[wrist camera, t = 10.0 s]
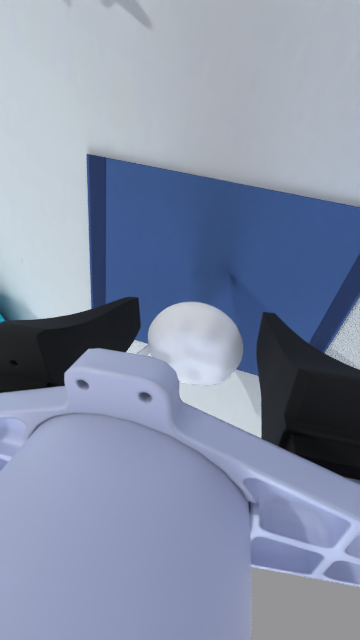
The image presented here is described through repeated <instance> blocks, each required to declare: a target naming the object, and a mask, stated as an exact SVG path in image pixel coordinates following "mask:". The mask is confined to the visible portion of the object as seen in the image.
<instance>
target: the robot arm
mask: <svg viewBox="0 0 360 640" xmlns="http://www.w3.org/2000/svg"><path fill="white" fill-rule="evenodd" d="M140 328H141V321H140V309H139V298H138V297H125V298H122V299H119V300H116V301H113V302H110V303H108V304H105V305H102V306H99V307H96V308H93V309H90V310H87V311H84V312H80V313H76V314H71V315H66V316H60V317H55V318H47V319H37V320H15V321H3V322H1V323H0V640H252V637H251V636H252V634H251V567H256V568H262V569H267V570H272V571H277V572H283V573H288V574H294V575H299V576H304V577H310V578H315V579H320V580H326V581H331V582H336V583H342V584H347V585H352V586H357V587H360V370H358V369H356V368H353V367H351V366H349V365H346V364H344V363H342V362H340V361H338V360H336V359H334V358H332V357H330V356H328V355H326V354H325V353H323V352H321V351H319V350H318V349H316V348H315V347H313V346H312V345H310V344H309V343H307V342H306V341H305V340H303V339H302V338H301V337H300V336H298V335H297V334H296V333H295V332H294V331H293V330H292V329H291V328H289V327H288V326H287V325H286V324H285V323H284V322H283V321H282V320H281V319H280V318H279V317H278V316H277V315H276V314H275V313H269V312H263V314H262V319H261V324H260V329H259V334H258V338H257V345H256V359H257V367H258V374H259V381H260V388H261V407H262V439H261V438H259V437H257V436H255V435H252V434H250V433H248V432H246V431H244V430H242V429H240V428H237V427H235V426H233V425H231V424H229V423H227V422H225V421H222V420H220V419H218V418H216V417H214V416H212V415H210V414H207V413H205V412H203V411H201V410H199V409H197V408H195V407H192V406H190V405H188V404H186V403H184V402H183V401H182V400H181V399H180V395H179V380H178V377H177V373H176V371H175V370H174V369H173V368H172V367H171V366H170V365H169V364H168V363H167V362H165V361H162V360H159V359H157V358H154V357H149V356H143V355H137V354H131V353H126V351H127V350H128V348H129V347H130V346H131V344H132V343H133V341H134V340H135V338H136V336H137V334H138V332H139V330H140Z"/></svg>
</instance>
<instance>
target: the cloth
mask: <svg viewBox="0 0 360 640" xmlns="http://www.w3.org/2000/svg"><path fill="white" fill-rule="evenodd" d="M87 183H88V214H89V245H90V275H91V306H92V309H93V308H96V307H99V306H102V305H105V304H108V303H110V302H113V301H116V300H119V299H122V298H125V297H138V298H139V309H140V321H141V328H140V330H139V332H138V334H137V336H136V338H135V340H138V341H141V342H144V343H148V331H149V327H150V325H151V323H152V322H153V320H154V319H155V318H156V317H157V315H158V314H159V313H160V312H161V311H162V310H163V309H164V308H165V307H166V306H167V305H168V304H169V303H170V302H171V301H172V300H173V299H174V298H175V297H176V296H177V295H178V294H179V293H180V292H181V291H182V290H183V289H184V287H185V286H186V285H187V284H188V283H189V282H190V281H191V279H192V278H193V277H194V276H195V275H196V274H197V273H199V272H200V271H201V270H202V269H203V268H204V267H214V266H219V267H220V268H222V269H224V270H226V271H227V272H229V273H230V274H231V276H232V279H233V281H234V283H235V286H236V295H237V305H238V316H239V323H240V329H241V335H242V342H243V355H242V360H241V362H240V364H239V366H238V367H237V368H236V369H237V370H241V371H244V372H248V373H251V374H254V375H258V376H259V374H258V367H257V359H256V345H257V338H258V334H259V329H260V324H261V319H262V314H263V312H269V313H275V314H276V315H277V316H278V317H279V318H280V319H281V320H282V321H283V322H284V323H285V324H286V325H287V326H288V327H289V328H291V329H292V330H293V331H294V332H295V333H296V334H297V335H298V336H300V337H301V338H302V339H303V340H305V341H306V342H307V343H309V344H310V345H312V346H313V347H315V348H316V349H318V350H319V351H321V352H323V353H325V351H326V350H327V348H328V346H329V345H330V343H331V342H332V340H333V338H334V337H335V335H336V334H337V332H338V331H339V329H340V327H341V326H342V324H343V323H344V321H345V319H346V318H347V316H348V315H349V313H350V311H351V310H352V308H353V307H354V305H355V303H356V302H357V300H358V299H359V297H360V207H355V206H350V205H345V204H339V203H334V202H329V201H324V200H319V199H314V198H309V197H304V196H299V195H294V194H288V193H283V192H278V191H273V190H268V189H263V188H258V187H253V186H248V185H243V184H238V183H232V182H227V181H222V180H217V179H212V178H207V177H202V176H197V175H192V174H187V173H181V172H176V171H171V170H166V169H161V168H156V167H151V166H146V165H141V164H136V163H130V162H125V161H120V160H115V159H110V158H105V157H100V156H95V155H90V154H87Z"/></svg>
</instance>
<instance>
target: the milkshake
mask: <svg viewBox="0 0 360 640" xmlns="http://www.w3.org/2000/svg"><path fill="white" fill-rule="evenodd" d="M149 353H151V355H152V357H154V358H157V359H159V360H162V361H165V362H167V363H168V364H169V365H170V366H171V367H172V368H173V369H174V370H175V371H176V373H177V377H178V380H179V382H182V383H185V384H189V385H203V386H209V385H216V384H219V383H221V382H223V381H225V380H226V379H227V378H229V377H230V375H231V374H232V373H233V372H234V371H235V370H236V368H237V367H238V366H239V364H240V362H241V360H242V355H243V342H242V335H241V329H240V323H239V316H238V305H237V295H236V286H235V283H234V281H233V279H232V276H231V274H230V273H229V272H227V271H226V270H224V269H222V268H220V267H219V266H214V267H204V268H203V269H202V270H201V271H200V272H199V273H197V274H196V275H195V276H194V277H193V278H192V279H191V281H190V282H189V283H188V284H187V285H186V286H185V287H184V289H183V290H182V291H181V292H180V293H179V294H178V295H177V296H176V297H175V298H174V299H173V300H172V301H171V302H170V303H169V304H168V305H167V306H166V307H165V308H164V309H163V310H162V311H161V312H160V313H159V314H158V315H157V317H156V318H155V319H154V320H153V322H152V323H151V325H150V327H149V331H148V345H147V346H146V347H145V348H143V349H142V350H141V351H139V352H138V353H137V355H143V356H147V355H148V354H149Z"/></svg>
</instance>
